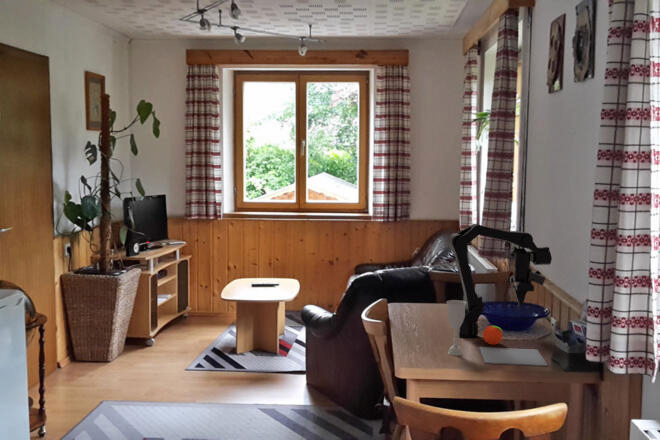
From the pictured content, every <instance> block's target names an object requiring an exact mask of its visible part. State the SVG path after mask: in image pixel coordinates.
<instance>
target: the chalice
mask: <svg viewBox="0 0 660 440" xmlns="http://www.w3.org/2000/svg"><path fill="white" fill-rule="evenodd" d="M466 303H467V302H465V301H463V300H459V299H450V300H447V301H446V304H447V318H448V322H449V324H450V327H451V328H452V329H453V330H454V332H453V336H454V337H453V339H452V340H453V345H451V346H450V348H449V350H448V352H447V354H448V355H449V356H456V357H458V356H462V355H463V352H462V348H461V347H460V346H459V345H458V341H459V339H458V336H459V333H458V330H459V328H460V327H461V325H462V323H463V320H464V318H465V305H466Z"/></svg>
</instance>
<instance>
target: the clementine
mask: <svg viewBox="0 0 660 440" xmlns="http://www.w3.org/2000/svg"><path fill="white" fill-rule="evenodd" d="M504 334H505V333H504V331H503V329H502V328H501V327H499V326H496V325H493V324H492V325H488V326H486V327H485V328H484V330H483V332H482V338H483V341H485V343H487V344H489V345H491V346H495V345H497V344H498V345H499V344H500V343H501V342H502V340H503V335H504Z"/></svg>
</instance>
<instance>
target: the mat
mask: <svg viewBox="0 0 660 440" xmlns="http://www.w3.org/2000/svg"><path fill="white" fill-rule="evenodd" d="M479 351H480V354H481V357H482V360H483V362H484V364H492V365H508V366H509V365H510V366H513V365H515V366H530V367H531V366H532V367H535V366H536V367H548V366H549V365H548V364H547V362H546V360H545V359H544V357H543V356H542V354H541V353H540V352H539V350H538V349H531V348H529V349H528V348H512V347H511V348H510V347H507V348H506V347H486V346H484V347H483V346H479Z"/></svg>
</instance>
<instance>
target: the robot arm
mask: <svg viewBox="0 0 660 440" xmlns="http://www.w3.org/2000/svg"><path fill="white" fill-rule="evenodd" d="M478 236H482V237H488V238H492V239H496V240H500V241H505V242H509V243H510V244H512V245H515V246H513V247H512V248H511V249H510V250H509V253H511V254H514V263H513V264H514V266H513V267H512V268H513V275H511V276H510V277H509V283H510V284H513V283H514V285H512V286H511V287H512V289H513V292H514V295H515V297H516V300H517V303H518V305H519V307H520V306H521V307H522V306H523V305H524V302H525V298H526V295H527V293H528V292H534V291H535V285H534V284H533V283H532V282H534V283H537V284H539V285H540V286H543V285H544V284H545V281H546V278H547V277H545V276H544V275H543V274H542V273H541V271H539V270H534V271H533V269H532V268H531V263H532V264H533V265H534V266H543V265H544V266H549V265H551V263H552V261H553V260H552V252H551V250H550V247H548V246H542V247H540V246H539V247H538V246H537V245H536V243H535V242H534V237H533V235H532V234H531V233H529V232H525V231H519V230H503V229H500V228H499V229H498V228H494V227H490V226H485V225H482V224H478V223H473V224H471V225H470V226H468V227H466V228H464V229H462V230H460V231H458V232H457V233H456V232H454V233H451V234H450V235H449V236H448V238H447V243H448V246H449V248H450V251H451V252H452V255H454V258H455V260H456V261H455V262H456V265H457V266H456V267H457V269H458V274H459V278H460V282H461V286H462V291H463V298H462V299H463V300H462V301H465V302H467V303H466V305H465V318H464V320H463V323H462V325H461V327H460V328H459V329H458V331H457V334H458V336H459V338H478V335H479V323H478V321H479V318H480V317H481V316H482V314H483V313H484V308H485V305H484V303H483V301H484V300H483V296H481V294H478V293H476V290H475V285H474V281H473V277H472V273H471V268H470V265H469V259H468V250H469V247H468V244H470V243H471V242H472V241H474V239H476V238H477V237H478ZM516 246H517V247H516ZM518 247H519V248H518ZM520 247H521V248H520Z"/></svg>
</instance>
